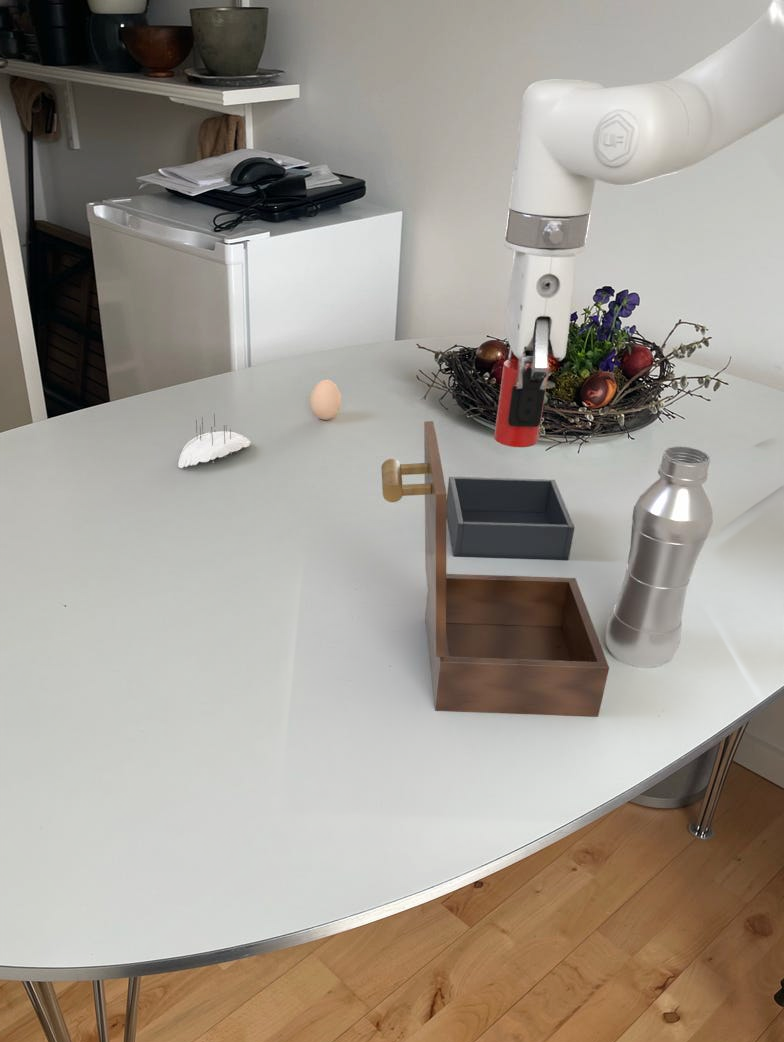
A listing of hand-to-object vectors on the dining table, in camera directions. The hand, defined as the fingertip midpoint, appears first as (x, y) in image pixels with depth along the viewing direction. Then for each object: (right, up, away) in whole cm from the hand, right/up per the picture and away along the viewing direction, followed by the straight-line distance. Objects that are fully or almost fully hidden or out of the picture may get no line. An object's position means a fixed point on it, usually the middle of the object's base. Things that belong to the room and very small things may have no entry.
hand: (519, 414), depth 102 cm
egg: (-20, +8, +38) cm, 44 cm away
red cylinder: (0, -2, +2) cm, 3 cm away
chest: (-5, -27, -14) cm, 30 cm away
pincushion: (-34, 0, +26) cm, 43 cm away
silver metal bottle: (+8, -26, -12) cm, 29 cm away
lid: (-11, -15, -21) cm, 28 cm away
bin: (0, -12, +8) cm, 14 cm away
